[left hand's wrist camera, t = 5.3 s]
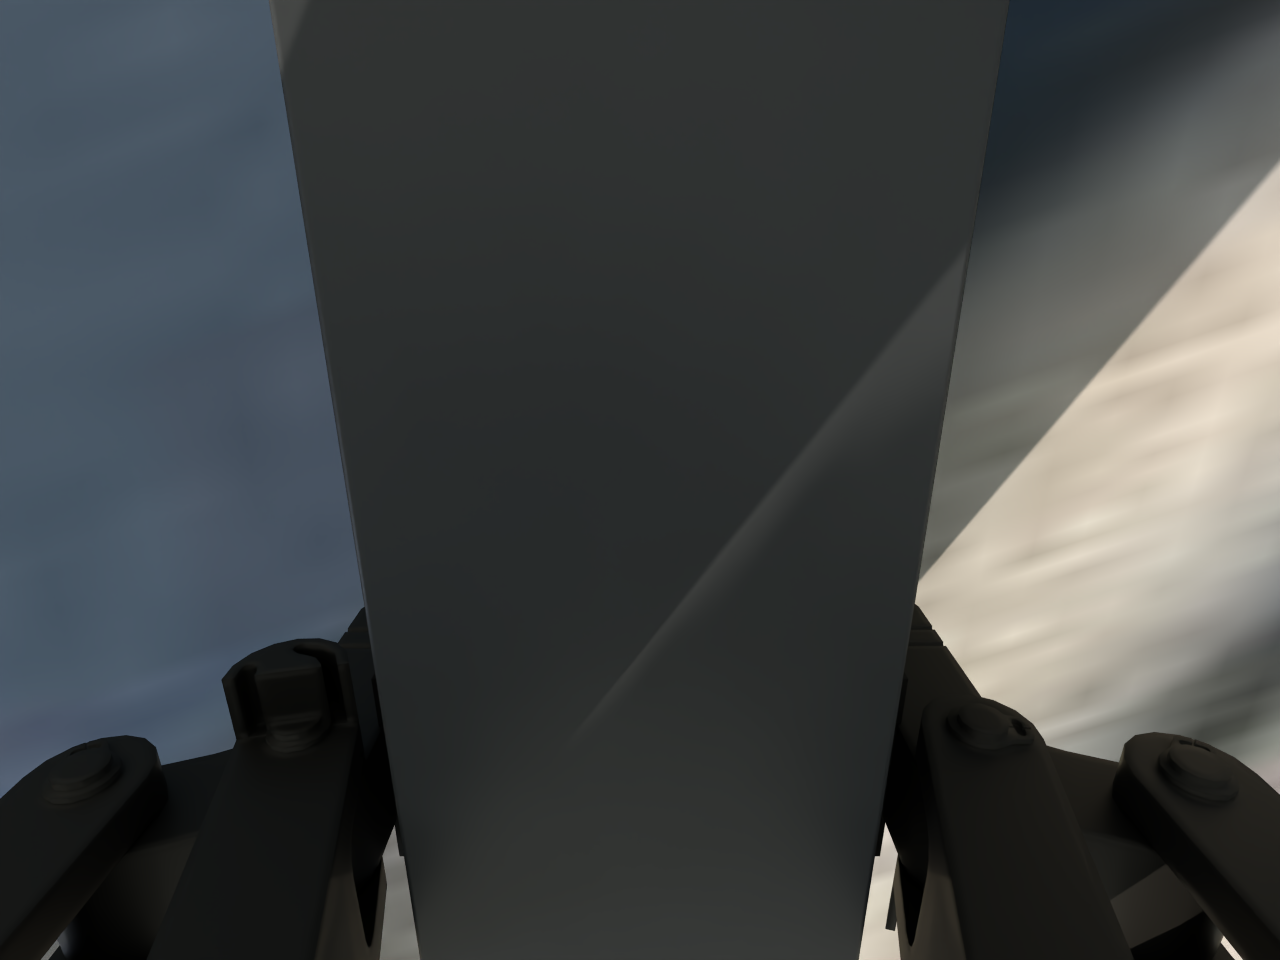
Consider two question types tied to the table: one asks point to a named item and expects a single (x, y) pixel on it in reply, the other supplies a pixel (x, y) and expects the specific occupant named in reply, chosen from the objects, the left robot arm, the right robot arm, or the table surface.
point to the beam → (639, 438)
